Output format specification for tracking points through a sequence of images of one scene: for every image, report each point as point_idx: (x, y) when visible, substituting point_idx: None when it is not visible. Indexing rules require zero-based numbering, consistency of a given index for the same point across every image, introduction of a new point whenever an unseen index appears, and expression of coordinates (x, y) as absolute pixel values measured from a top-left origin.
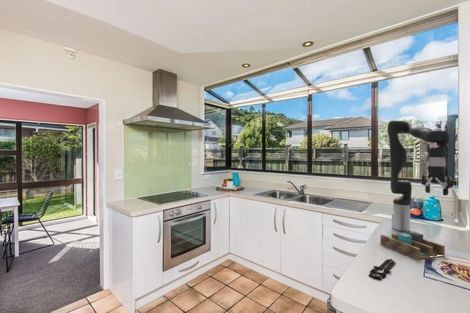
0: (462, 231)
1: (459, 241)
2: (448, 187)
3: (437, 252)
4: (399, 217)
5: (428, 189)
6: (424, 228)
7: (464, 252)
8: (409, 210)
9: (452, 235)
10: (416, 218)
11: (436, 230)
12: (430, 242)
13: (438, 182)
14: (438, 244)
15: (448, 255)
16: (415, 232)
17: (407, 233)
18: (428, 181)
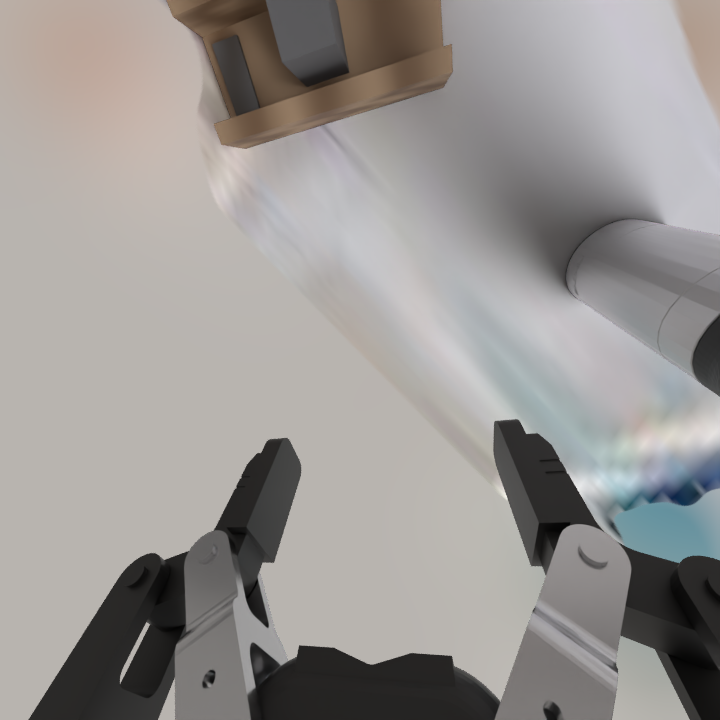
0: (490, 475)
1: (405, 377)
2: (146, 558)
3: (238, 107)
4: (664, 245)
5: (513, 482)
6: (569, 392)
7: (298, 286)
8: (654, 336)
9: (464, 413)
10: (688, 478)
11: (529, 412)
12: (271, 106)
13: (278, 689)
14: (235, 122)
15: (255, 177)
16: (328, 36)
17: (430, 79)
18: (563, 718)
